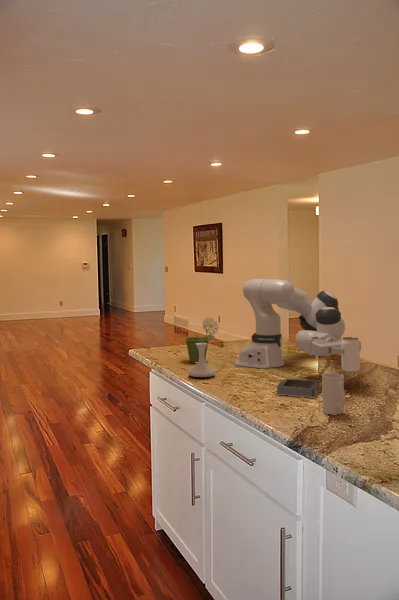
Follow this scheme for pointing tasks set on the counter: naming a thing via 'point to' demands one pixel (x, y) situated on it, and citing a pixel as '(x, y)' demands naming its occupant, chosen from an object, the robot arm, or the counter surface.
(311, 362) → the counter surface
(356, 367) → the can
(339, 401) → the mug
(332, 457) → the counter surface
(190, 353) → the plant pot
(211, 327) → the flower in vase
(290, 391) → the socket block
